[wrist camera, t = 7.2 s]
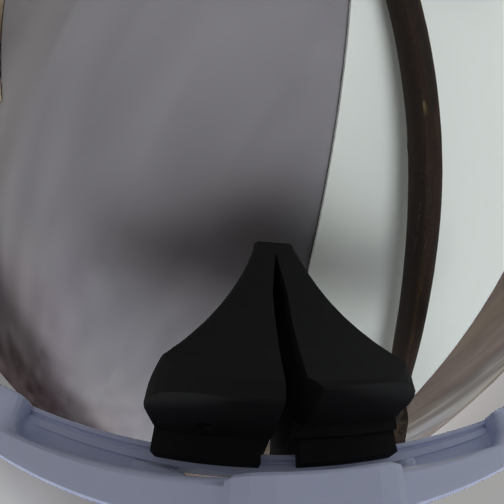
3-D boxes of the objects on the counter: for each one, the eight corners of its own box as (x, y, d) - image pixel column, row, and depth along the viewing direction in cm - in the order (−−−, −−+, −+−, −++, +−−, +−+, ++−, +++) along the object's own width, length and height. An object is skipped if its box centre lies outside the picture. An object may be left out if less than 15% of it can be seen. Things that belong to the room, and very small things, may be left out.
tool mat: (411, 396, 21) (411, 398, 21) (272, 404, 21) (272, 406, 20) (562, 40, 5) (564, 40, 4) (352, -81, 4) (354, -83, 4)
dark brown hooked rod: (452, -36, 5) (419, 402, 20) (345, -52, 6) (364, 413, 21) (517, -65, 1) (430, 454, 16) (377, -113, 2) (369, 467, 17)
